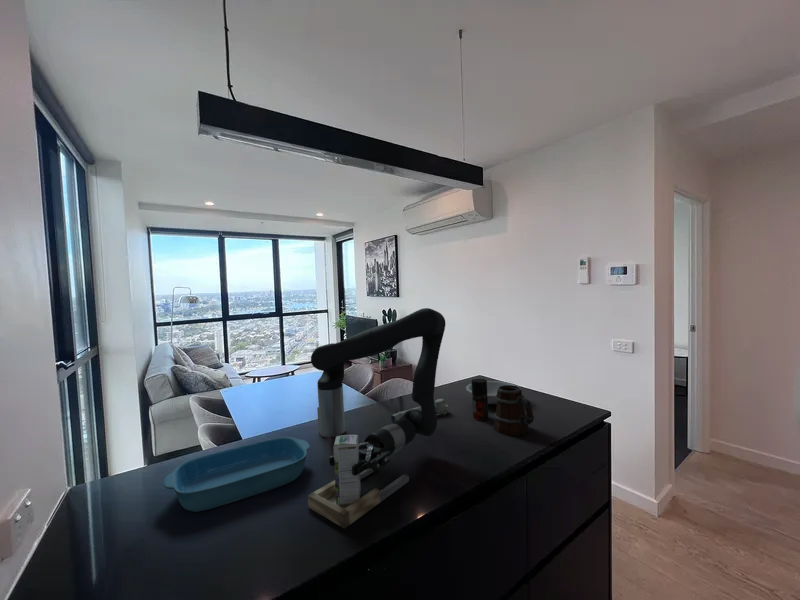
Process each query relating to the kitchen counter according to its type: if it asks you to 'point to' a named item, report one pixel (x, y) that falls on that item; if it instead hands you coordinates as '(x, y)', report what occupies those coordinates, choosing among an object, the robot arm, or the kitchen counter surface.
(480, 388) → the deodorant
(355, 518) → the socket
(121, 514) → the kitchen counter surface
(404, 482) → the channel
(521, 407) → the mug
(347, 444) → the syrup box
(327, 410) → the robot arm
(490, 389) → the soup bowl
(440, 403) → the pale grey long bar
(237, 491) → the casserole dish
